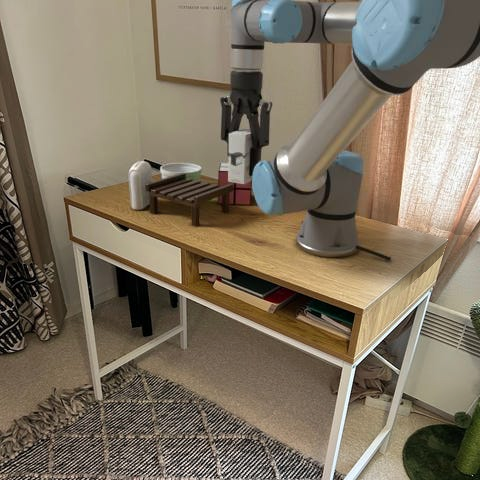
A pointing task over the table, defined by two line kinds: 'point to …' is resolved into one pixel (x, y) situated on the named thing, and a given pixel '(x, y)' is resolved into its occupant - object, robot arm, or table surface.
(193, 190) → the rack
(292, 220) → the table surface
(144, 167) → the photo printer
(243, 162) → the ink box
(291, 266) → the table surface
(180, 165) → the ramekin
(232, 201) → the puzzle cube
